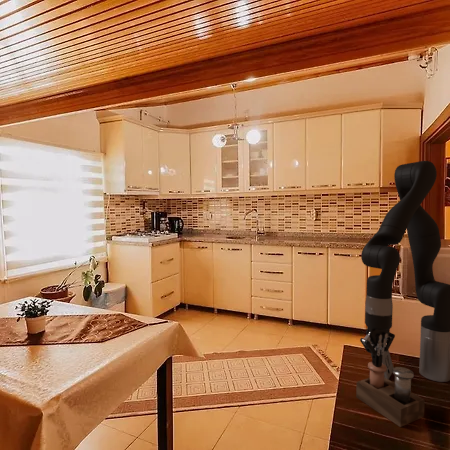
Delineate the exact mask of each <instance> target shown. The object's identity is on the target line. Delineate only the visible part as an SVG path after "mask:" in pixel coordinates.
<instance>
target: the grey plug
mask: <svg viewBox="0 0 450 450" xmlns="http://www.w3.org/2000/svg"><path fill="white" fill-rule="evenodd" d="M392 375H394V383H395V388H394V396H395V398H396V399H398V400H400V401H404V402H408V401H410V393H411V392H412V391H411V390H412V389H411V388H412V387H411V385H412V379H414V375H415V374H414V372H413V370H411V369H409V368H406V367H401V366H395V367H394V366H393V372H392Z"/></svg>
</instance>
